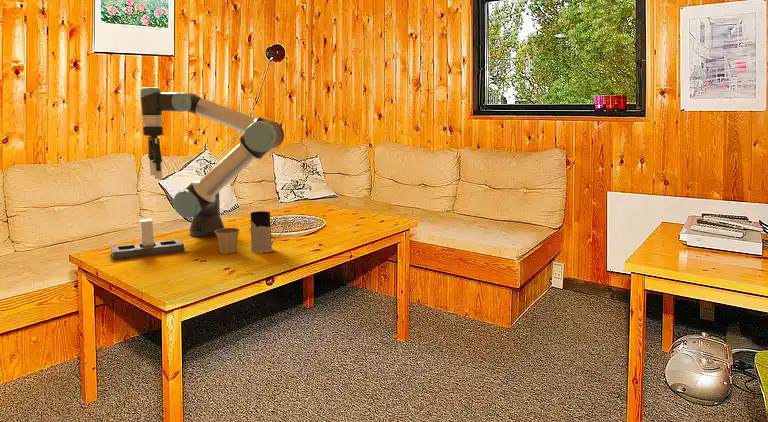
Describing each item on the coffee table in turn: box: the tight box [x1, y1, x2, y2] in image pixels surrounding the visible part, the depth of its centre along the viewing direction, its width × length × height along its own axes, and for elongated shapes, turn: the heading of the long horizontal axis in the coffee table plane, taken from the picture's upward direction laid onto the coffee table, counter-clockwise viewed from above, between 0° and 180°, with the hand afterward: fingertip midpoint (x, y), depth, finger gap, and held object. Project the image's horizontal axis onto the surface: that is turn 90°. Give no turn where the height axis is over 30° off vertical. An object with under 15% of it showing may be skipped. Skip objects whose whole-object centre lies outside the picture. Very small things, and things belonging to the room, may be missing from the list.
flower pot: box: [215, 227, 241, 255], centre depth 214 cm, size 9×9×9 cm
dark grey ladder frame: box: [110, 238, 185, 260], centre depth 212 cm, size 25×10×3 cm, turn 120°
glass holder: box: [250, 210, 287, 254], centre depth 218 cm, size 9×14×15 cm, turn 111°
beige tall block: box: [139, 218, 155, 248], centre depth 211 cm, size 4×4×13 cm
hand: (156, 177), depth 229 cm, fingers open, 13 cm apart
